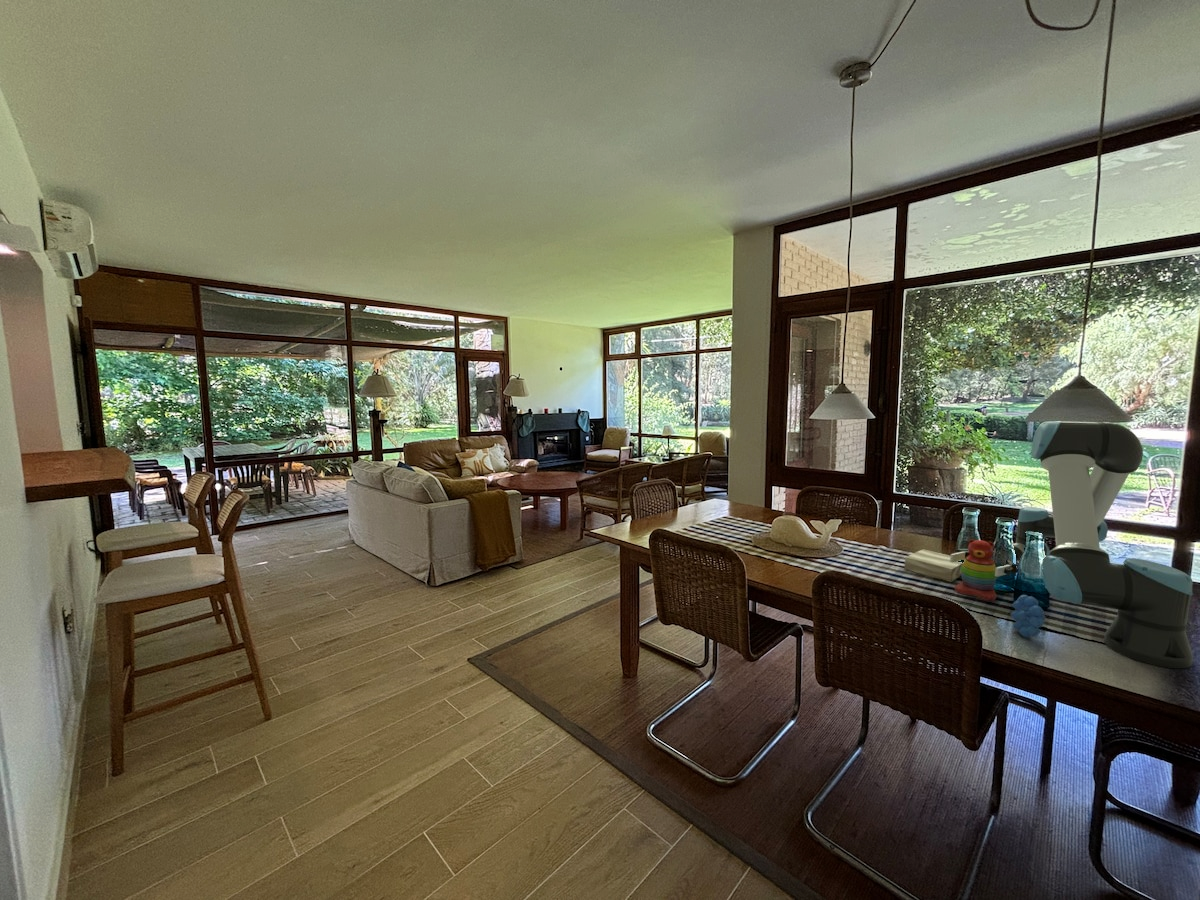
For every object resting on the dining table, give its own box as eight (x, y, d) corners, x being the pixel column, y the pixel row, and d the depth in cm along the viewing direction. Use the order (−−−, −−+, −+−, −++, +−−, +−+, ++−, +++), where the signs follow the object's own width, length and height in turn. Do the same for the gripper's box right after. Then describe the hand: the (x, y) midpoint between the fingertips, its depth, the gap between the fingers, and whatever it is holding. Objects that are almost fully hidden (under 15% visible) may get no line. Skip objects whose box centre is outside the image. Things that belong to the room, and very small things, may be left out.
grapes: (1057, 649, 127) (1062, 606, 126) (1026, 646, 129) (1031, 603, 127) (1031, 628, 138) (1035, 587, 137) (1003, 625, 140) (1007, 585, 139)
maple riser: (950, 582, 171) (951, 569, 171) (904, 570, 183) (905, 557, 183) (967, 573, 180) (968, 560, 179) (922, 561, 192) (923, 549, 191)
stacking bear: (952, 591, 163) (957, 540, 161) (960, 583, 170) (965, 533, 167) (993, 602, 155) (999, 548, 153) (1000, 593, 162) (1005, 541, 159)
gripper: (1055, 579, 157) (1016, 590, 149) (972, 554, 180) (933, 563, 172) (1058, 556, 156) (1018, 566, 148) (974, 535, 179) (935, 542, 171)
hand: (972, 565), depth 160 cm, fingers open, 13 cm apart
